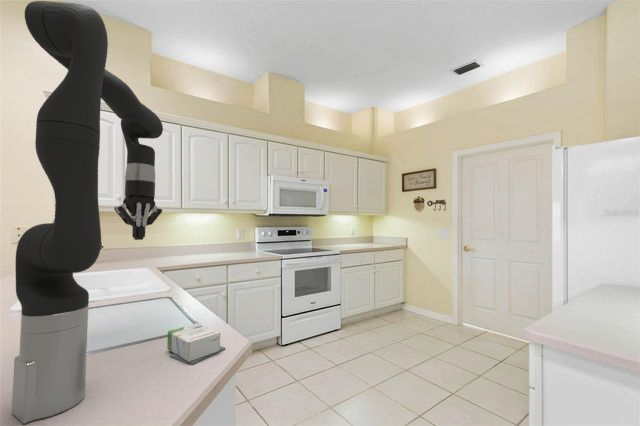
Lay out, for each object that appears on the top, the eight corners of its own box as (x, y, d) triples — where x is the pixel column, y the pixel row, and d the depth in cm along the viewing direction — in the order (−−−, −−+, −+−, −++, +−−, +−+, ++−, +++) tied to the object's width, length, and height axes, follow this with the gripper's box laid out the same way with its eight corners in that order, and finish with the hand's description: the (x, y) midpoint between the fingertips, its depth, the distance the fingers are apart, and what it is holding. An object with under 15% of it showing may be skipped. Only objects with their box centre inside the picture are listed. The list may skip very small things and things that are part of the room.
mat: (192, 365, 68) (192, 363, 68) (169, 357, 72) (169, 355, 72) (225, 349, 77) (225, 347, 77) (203, 343, 81) (203, 341, 81)
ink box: (166, 349, 75) (188, 363, 68) (167, 330, 76) (188, 341, 68) (198, 340, 82) (220, 351, 74) (198, 322, 82) (221, 331, 75)
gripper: (122, 176, 77) (120, 240, 76) (169, 182, 89) (168, 239, 88) (108, 178, 81) (106, 240, 80) (155, 184, 92) (153, 238, 92)
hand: (138, 239), depth 84 cm, fingers closed
